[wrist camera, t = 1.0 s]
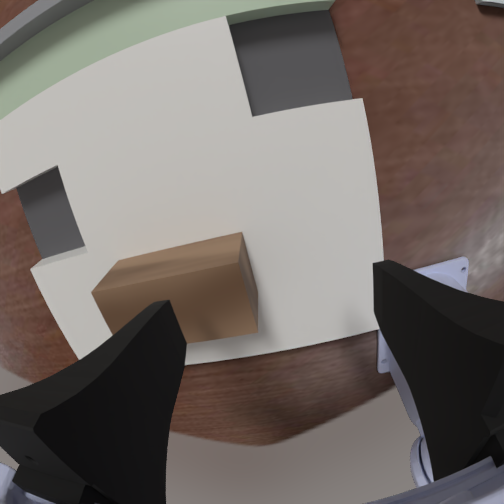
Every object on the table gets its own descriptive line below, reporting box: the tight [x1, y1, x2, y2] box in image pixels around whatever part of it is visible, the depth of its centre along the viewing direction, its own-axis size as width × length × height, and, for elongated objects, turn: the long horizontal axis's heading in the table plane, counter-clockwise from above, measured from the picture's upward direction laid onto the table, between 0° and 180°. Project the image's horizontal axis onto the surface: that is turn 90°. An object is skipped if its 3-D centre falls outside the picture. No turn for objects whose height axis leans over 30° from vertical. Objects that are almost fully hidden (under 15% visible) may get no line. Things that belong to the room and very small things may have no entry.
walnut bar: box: [91, 232, 258, 344], centre depth 17 cm, size 4×8×4 cm, turn 103°
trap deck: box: [0, 0, 384, 365], centre depth 16 cm, size 27×24×4 cm
